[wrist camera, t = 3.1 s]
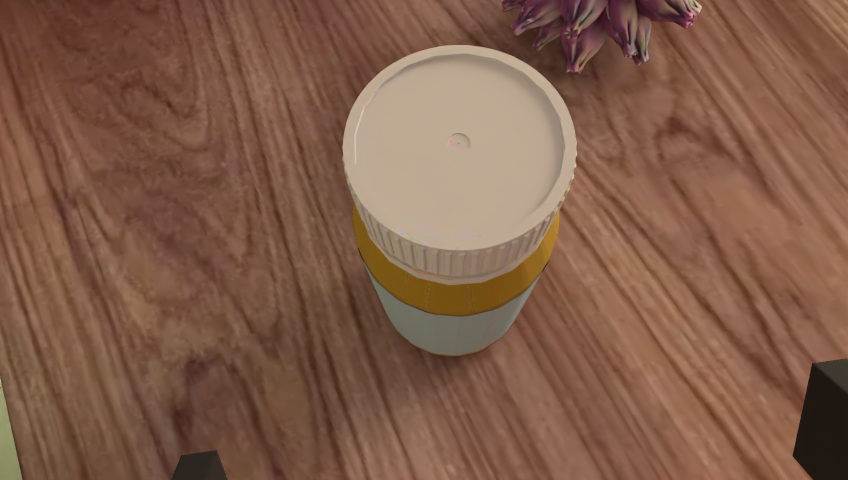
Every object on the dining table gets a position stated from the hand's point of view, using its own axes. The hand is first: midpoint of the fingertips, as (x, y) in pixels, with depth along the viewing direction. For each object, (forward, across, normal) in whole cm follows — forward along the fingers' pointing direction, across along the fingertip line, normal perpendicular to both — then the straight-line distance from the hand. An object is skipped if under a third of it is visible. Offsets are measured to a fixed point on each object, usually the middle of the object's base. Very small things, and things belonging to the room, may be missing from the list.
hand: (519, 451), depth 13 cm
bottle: (+16, 0, -5) cm, 16 cm away
